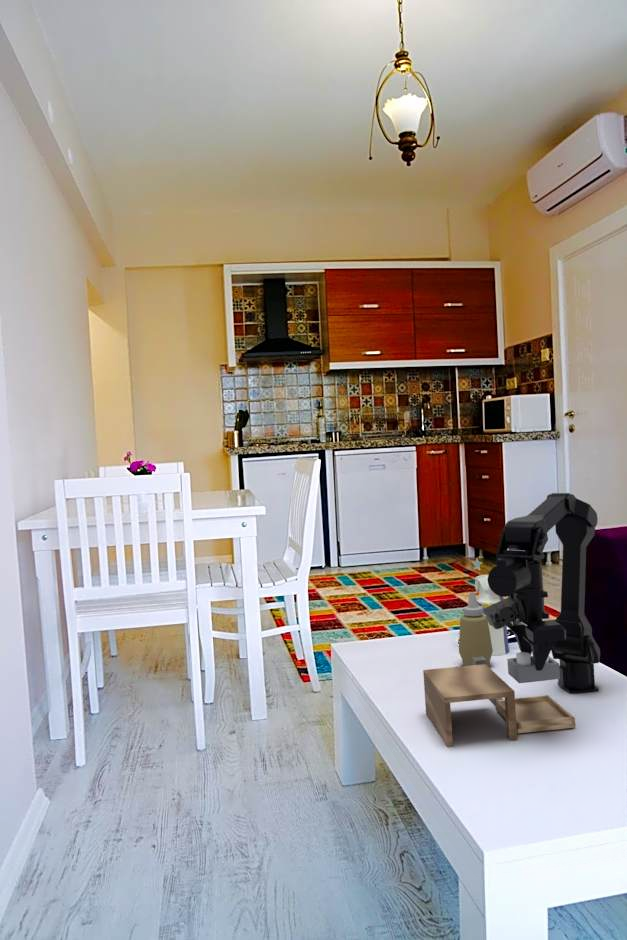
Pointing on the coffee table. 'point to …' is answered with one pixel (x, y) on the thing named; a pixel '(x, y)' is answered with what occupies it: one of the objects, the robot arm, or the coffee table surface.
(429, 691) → the wooden stand
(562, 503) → the robot arm
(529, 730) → the shallow wooden box
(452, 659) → the coffee table surface
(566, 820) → the coffee table surface
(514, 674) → the tray
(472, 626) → the squeeze bottle
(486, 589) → the spray bottle
